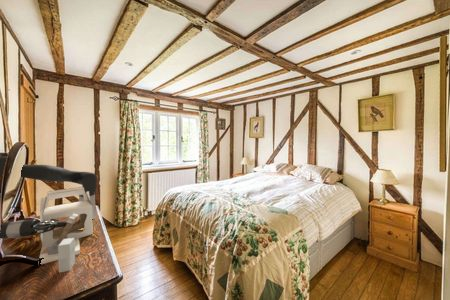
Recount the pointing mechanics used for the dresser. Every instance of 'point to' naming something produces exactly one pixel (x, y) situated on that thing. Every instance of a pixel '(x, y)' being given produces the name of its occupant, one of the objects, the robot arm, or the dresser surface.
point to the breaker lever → (67, 227)
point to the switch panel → (55, 256)
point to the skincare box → (66, 254)
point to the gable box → (66, 214)
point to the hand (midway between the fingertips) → (67, 223)
